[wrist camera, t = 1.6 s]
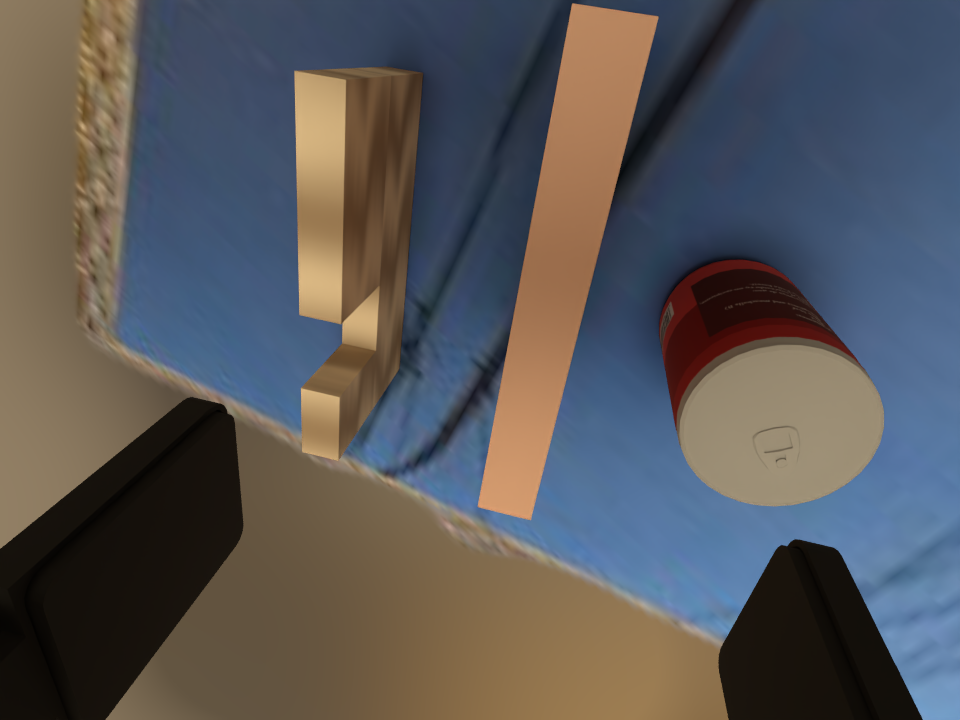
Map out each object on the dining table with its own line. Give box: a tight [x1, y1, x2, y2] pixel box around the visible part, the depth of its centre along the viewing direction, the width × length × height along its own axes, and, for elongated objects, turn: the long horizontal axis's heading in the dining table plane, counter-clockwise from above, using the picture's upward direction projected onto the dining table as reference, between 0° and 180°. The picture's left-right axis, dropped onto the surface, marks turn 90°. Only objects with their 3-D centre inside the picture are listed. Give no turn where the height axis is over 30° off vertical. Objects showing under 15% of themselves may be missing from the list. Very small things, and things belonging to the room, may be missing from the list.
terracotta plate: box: [478, 3, 658, 520], centre depth 24 cm, size 2×16×16 cm, turn 172°
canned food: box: [659, 260, 884, 506], centre depth 28 cm, size 8×8×11 cm
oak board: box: [295, 67, 423, 461], centre depth 29 cm, size 18×2×10 cm, turn 172°
